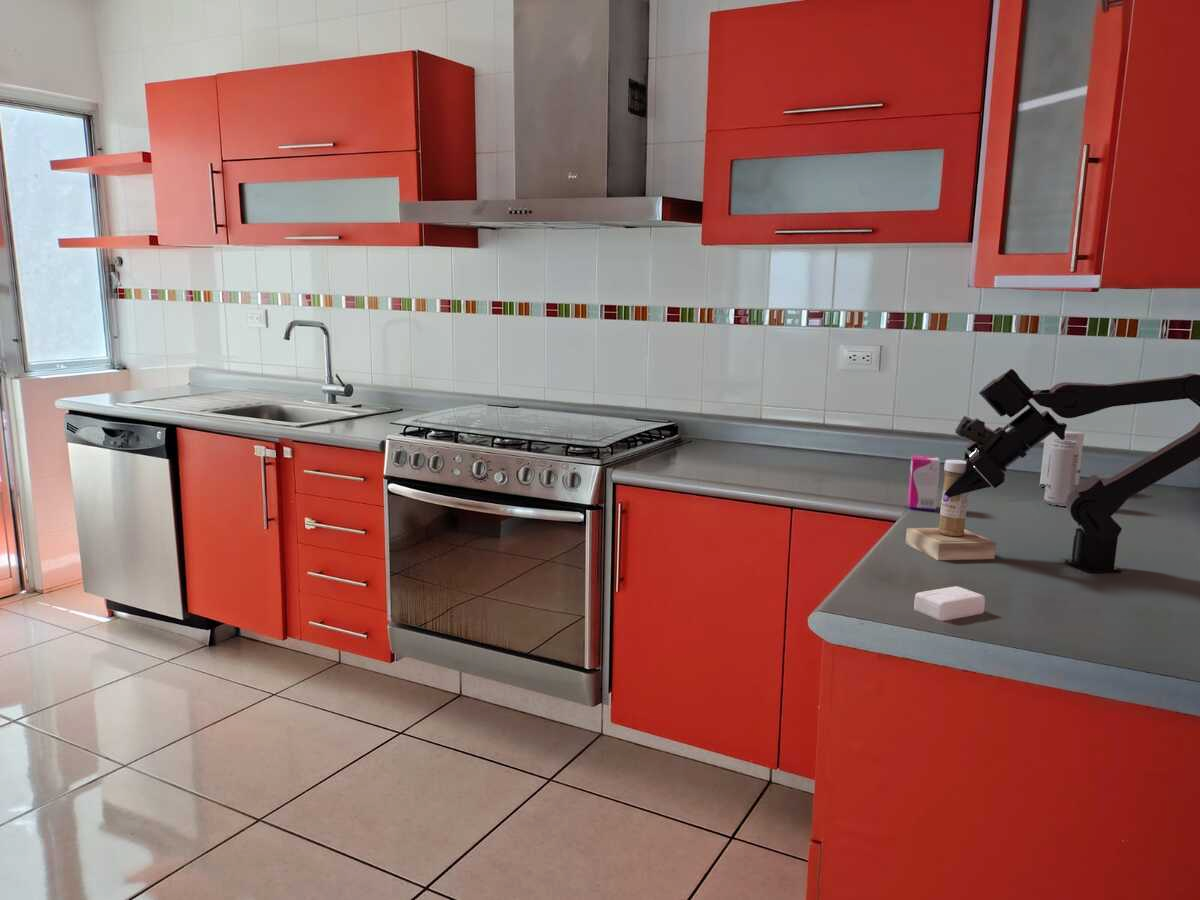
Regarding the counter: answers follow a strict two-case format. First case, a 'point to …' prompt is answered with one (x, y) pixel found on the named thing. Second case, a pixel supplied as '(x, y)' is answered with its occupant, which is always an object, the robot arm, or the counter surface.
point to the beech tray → (950, 544)
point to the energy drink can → (1061, 470)
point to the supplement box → (923, 483)
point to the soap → (949, 603)
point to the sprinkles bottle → (953, 502)
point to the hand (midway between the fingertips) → (946, 492)
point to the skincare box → (1047, 443)
